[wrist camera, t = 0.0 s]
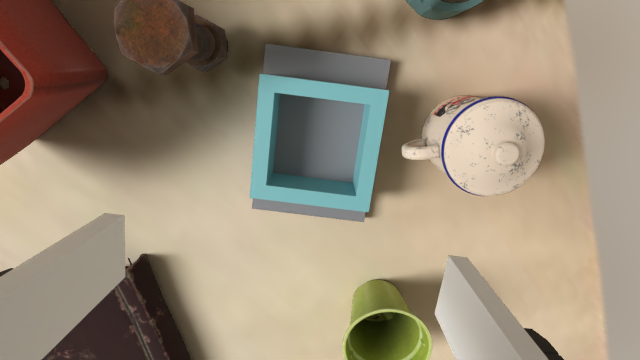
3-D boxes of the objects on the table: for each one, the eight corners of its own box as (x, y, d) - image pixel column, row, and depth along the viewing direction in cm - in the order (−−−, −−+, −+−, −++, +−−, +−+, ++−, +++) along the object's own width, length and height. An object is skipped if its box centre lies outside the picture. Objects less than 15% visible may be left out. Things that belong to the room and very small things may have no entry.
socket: (267, 44, 39) (256, 38, 33) (388, 60, 39) (400, 57, 33) (254, 204, 44) (242, 224, 38) (362, 217, 44) (368, 240, 38)
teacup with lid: (499, 87, 40) (568, 90, 29) (500, 168, 42) (564, 200, 31) (389, 102, 41) (413, 111, 29) (396, 181, 43) (421, 218, 32)
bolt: (181, 56, 40) (98, 43, 25) (199, 11, 38) (123, -30, 24) (230, 82, 40) (177, 84, 26) (250, 39, 39) (205, 15, 25)
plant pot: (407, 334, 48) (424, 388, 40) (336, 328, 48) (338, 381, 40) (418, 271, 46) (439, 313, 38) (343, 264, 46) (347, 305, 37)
